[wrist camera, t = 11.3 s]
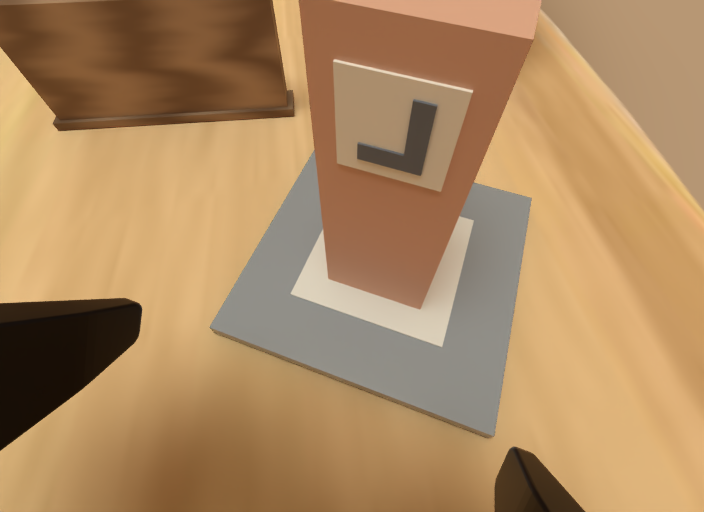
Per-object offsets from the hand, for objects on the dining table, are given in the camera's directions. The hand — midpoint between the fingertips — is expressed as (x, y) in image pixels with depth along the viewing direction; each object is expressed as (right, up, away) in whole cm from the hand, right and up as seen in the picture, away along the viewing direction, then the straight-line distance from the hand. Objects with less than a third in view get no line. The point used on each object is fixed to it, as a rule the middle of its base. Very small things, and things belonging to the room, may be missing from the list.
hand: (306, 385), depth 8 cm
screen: (-12, +14, +19) cm, 26 cm away
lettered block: (+3, +3, +12) cm, 13 cm away
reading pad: (+3, +3, +13) cm, 13 cm away
